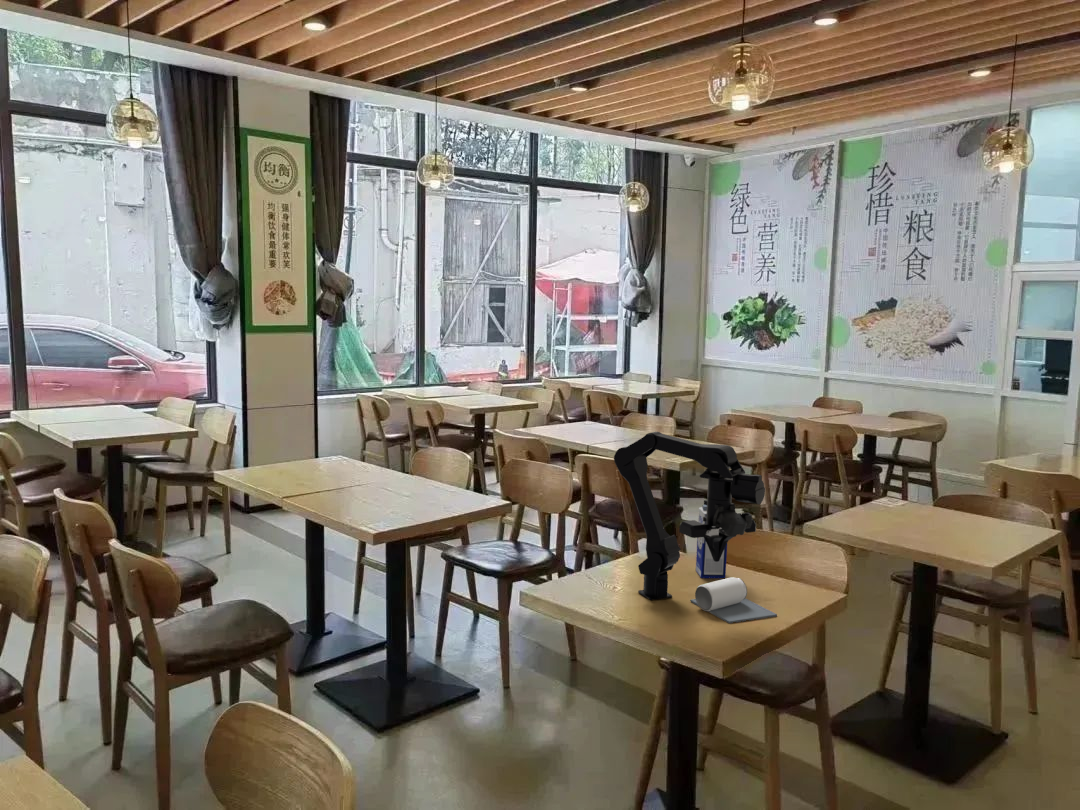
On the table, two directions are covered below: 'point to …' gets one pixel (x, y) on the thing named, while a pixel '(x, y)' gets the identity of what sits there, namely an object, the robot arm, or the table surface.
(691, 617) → the table surface
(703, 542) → the milk carton
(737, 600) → the can
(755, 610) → the mat
